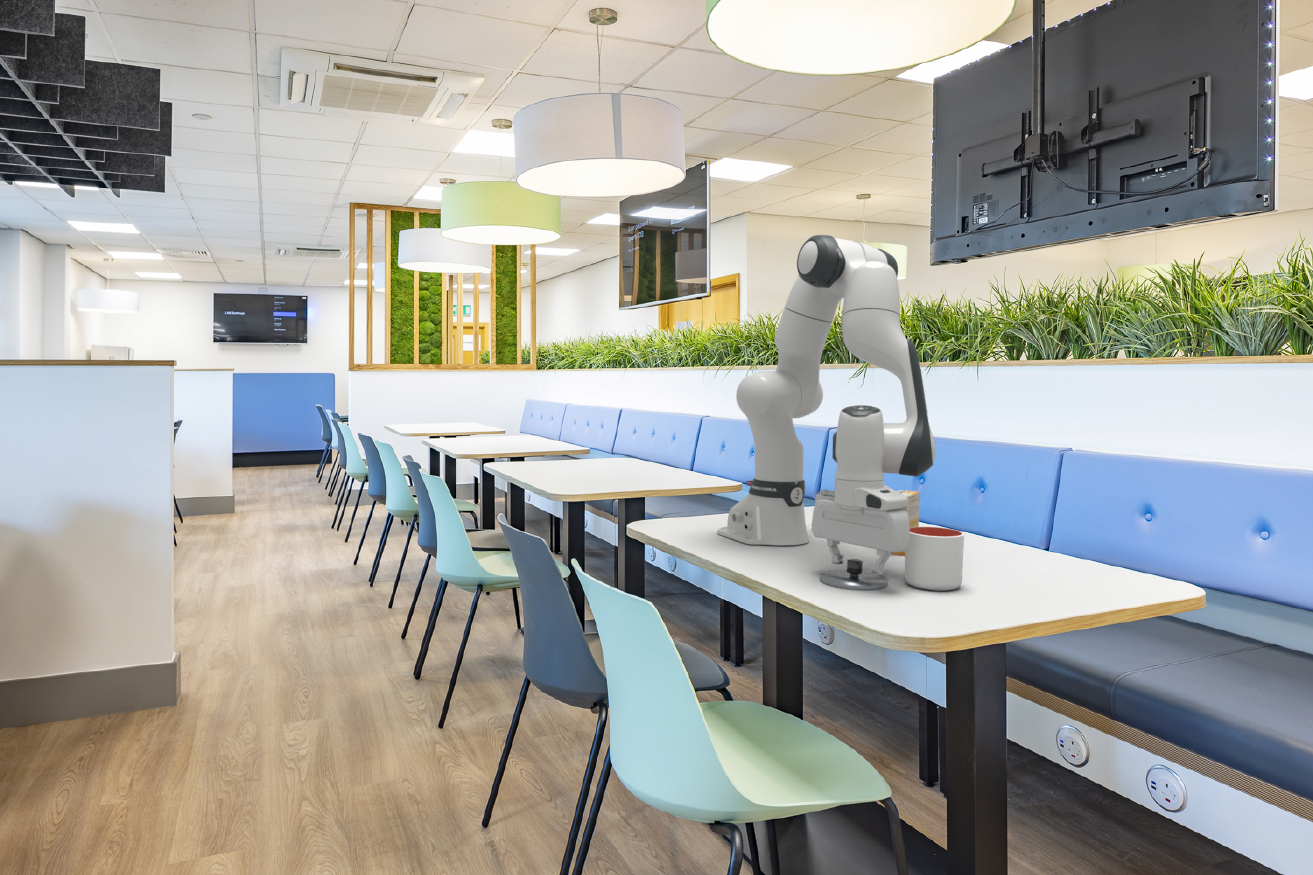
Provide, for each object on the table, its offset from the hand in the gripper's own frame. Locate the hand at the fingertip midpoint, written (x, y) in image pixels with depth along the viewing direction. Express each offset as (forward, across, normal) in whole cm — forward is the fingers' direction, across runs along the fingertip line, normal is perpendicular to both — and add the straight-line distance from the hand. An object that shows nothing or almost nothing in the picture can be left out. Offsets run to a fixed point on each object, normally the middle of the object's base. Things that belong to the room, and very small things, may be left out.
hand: (857, 568), depth 155 cm
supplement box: (+3, -12, +30) cm, 32 cm away
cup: (+3, +10, +10) cm, 14 cm away
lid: (+3, 0, 0) cm, 3 cm away
